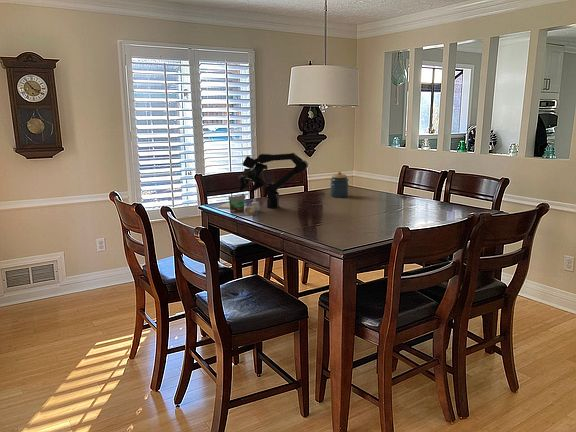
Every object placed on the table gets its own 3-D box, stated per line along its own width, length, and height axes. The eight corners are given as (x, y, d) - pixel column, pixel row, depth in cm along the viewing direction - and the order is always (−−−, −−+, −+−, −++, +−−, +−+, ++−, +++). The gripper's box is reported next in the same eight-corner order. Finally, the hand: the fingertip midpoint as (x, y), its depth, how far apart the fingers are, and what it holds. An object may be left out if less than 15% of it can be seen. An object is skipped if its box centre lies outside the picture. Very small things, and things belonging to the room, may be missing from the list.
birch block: (254, 214, 275) (254, 206, 274) (251, 215, 271) (251, 207, 270) (247, 213, 277) (247, 206, 276) (244, 215, 272) (244, 207, 271)
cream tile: (245, 205, 303) (245, 203, 302) (236, 209, 290) (236, 207, 289) (227, 204, 307) (227, 202, 306) (218, 208, 294) (218, 206, 293)
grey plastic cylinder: (260, 210, 286) (260, 202, 285) (257, 211, 281) (257, 203, 280) (253, 209, 287) (252, 201, 286) (250, 211, 283) (249, 203, 282)
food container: (236, 214, 275) (235, 197, 273) (228, 212, 279) (228, 196, 277) (250, 210, 285) (249, 194, 282) (242, 209, 288) (242, 193, 286)
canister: (327, 195, 337) (327, 170, 334) (344, 194, 340) (345, 170, 337) (333, 198, 325) (333, 172, 321) (351, 197, 328) (351, 172, 324)
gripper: (239, 162, 290) (227, 182, 284) (261, 164, 278) (249, 184, 272) (248, 174, 297) (237, 193, 291) (270, 175, 286) (259, 196, 280)
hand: (245, 191), depth 284 cm, fingers open, 9 cm apart
